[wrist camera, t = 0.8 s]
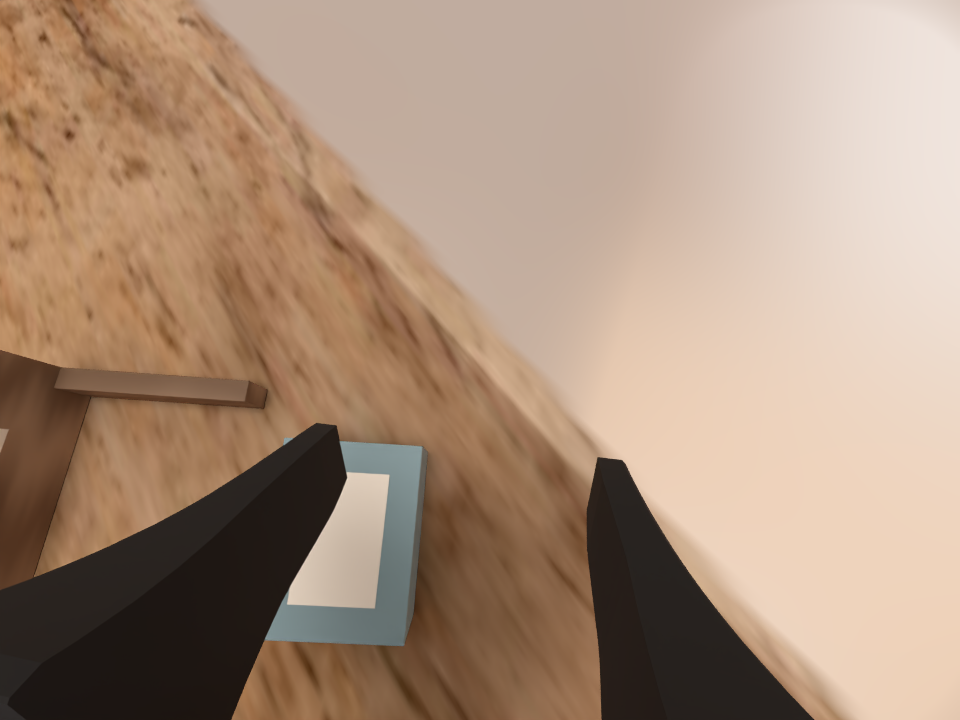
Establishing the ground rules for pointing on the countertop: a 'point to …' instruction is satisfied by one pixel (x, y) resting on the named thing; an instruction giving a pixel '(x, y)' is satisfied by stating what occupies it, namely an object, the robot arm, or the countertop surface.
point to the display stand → (68, 438)
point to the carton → (362, 554)
